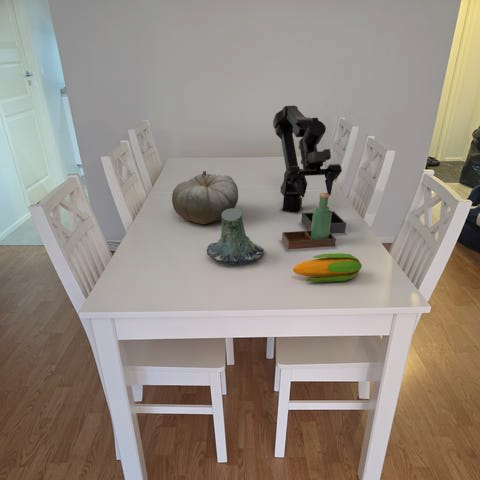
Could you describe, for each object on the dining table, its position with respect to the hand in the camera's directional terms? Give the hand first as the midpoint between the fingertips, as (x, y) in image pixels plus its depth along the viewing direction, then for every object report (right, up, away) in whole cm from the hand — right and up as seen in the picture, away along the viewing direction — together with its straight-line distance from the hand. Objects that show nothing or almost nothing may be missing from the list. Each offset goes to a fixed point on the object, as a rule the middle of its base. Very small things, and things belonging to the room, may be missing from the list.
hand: (316, 196), depth 151 cm
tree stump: (-27, -21, -8) cm, 35 cm away
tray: (+4, -9, +12) cm, 15 cm away
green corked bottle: (+1, -15, 0) cm, 15 cm away
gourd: (-39, -3, +20) cm, 44 cm away
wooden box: (-3, -16, 0) cm, 16 cm away
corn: (-1, -30, -21) cm, 36 cm away
